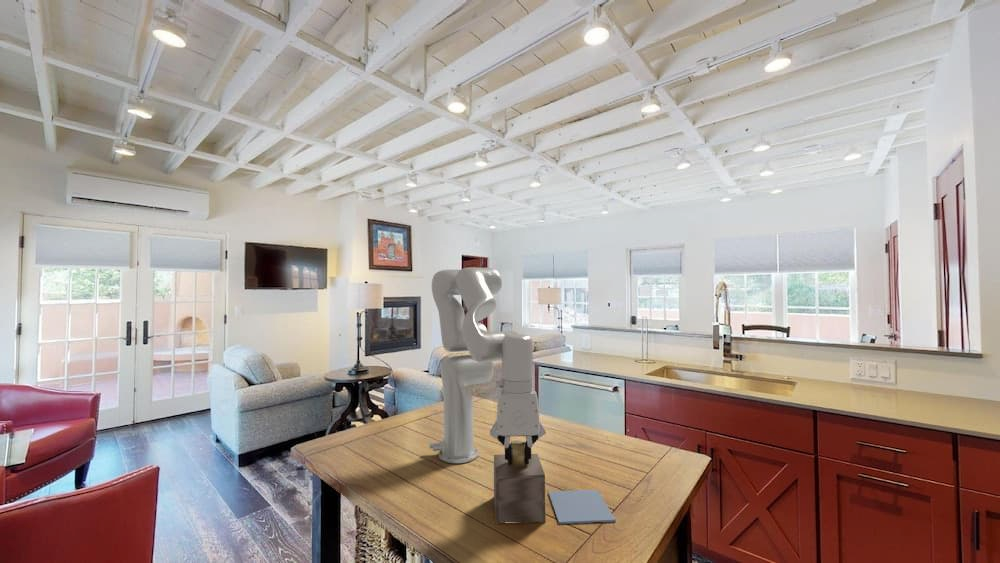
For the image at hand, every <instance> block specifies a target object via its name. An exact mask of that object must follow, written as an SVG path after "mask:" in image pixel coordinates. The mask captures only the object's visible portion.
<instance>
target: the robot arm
mask: <svg viewBox="0 0 1000 563" xmlns="http://www.w3.org/2000/svg"><path fill="white" fill-rule="evenodd" d="M502 284H503V281H502V277H501V274H500V272H498V270H496V269H495V268H493V267H472V266H471V267H469V266H468V267H463V268H462V269H442V270H438V271H437V272H436V273H434V275H433V277H432V280H431V292H432V293H431V294H432V297H433V301H434V303H435V306H436V308H437V312H438V318H439V326H440V336H441V342H442V343H441V344H442V347H443V349H444V350H445V352H448V353H460V352H461V353H462V352H469V353H468V354H465V355H454V356H450V357H447V358H446V359H444V360H443V361H442V363H441V365H440V375H441V376H440V377H441V383H442V392H443V439H442V440H440V441H439V442H437V441H430V442H429V449H432V451H433V452H438V451H439V452H438V458H439V459H440V460H441V462H442V461H443V462H444V463H449V464H464V463H465V464H466V463H468V462H471V461H473V460H475V459H476V458H478V456H479V449H478V448H477V447H476V446H475V445H474V398H473V396H472V394H471V393H470V391H469V390H468V388H467V386H470V385H471V386H472V385H478V384H484V383H488V382H490V381H491V380H492V378H493V376H494V372H495V370H494V362H498V361H501V379H500V380H498V381H497V380H496V381H495V383H496V384H495V386H496V388H500V389H501V390H500V389H499V390H500V391H499V393H498V398H497V406H496V407H497V409H496V420H495V421H494V424H493V425H492V426H491V429H490V430H489V436H491V437H492V438H494V439H496V440H497V441H498V442H500V443H501V444H502V446H504V455H505V460H508V465H510V464H511V446H510V443H511V437H525V441H524V442H525V463H526V464H529V459H531V454H532V448H533V446H534V444H535V443H536V442H537V441H538V440H539V439H540V438H542V437H543V436H544V435H546V432H547V431H546V429H545V428H544V426H543V424H542V422H541V421H540V408H539V407H540V406H539V399H538V394H537V391H536V390H534V370H533V369H534V360H533V359H534V355H533V354H534V350H533V349H534V348H533V346H534V345H533V338H532V337H531V336H530V335H528V334H523V333H522V334H521V333H518V332H517V331H513V330H502V331H499V330H498V331H497V330H496V331H488V329H487V327H486V325H485V324H483V323H481V322H480V321H482V320H484V319H486V318H488V317H489V316H490V315H491V314H492V313H493V312H494V311H495V310H496V307H497V301H496V298H495V297H494V295H496V294H498V293H499V292H500V290H501V288H502V286H503V285H502ZM455 296H460V297H461V299H462V301H463V304H464V306H465V308H466V310H467V312H466V313H465V310H464V307H463V305H462V304H461V302H460V301H458V299H457V298H456V297H455Z"/></svg>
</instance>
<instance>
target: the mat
mask: <svg viewBox="0 0 1000 563" xmlns="http://www.w3.org/2000/svg"><path fill="white" fill-rule="evenodd" d="M547 494H548V496H549V499H550V500H549V501H550V503H551V505H552V509H553V511H554V514H555V516H556V520H557V522H558V525H569V524H572V525H573V524H574V523H575V524H576V523H577V524H594V523H593V522H602V523H616V517H615V516H614V514H613V513H612V512H611V510H610V508H609V506H608V504H607V503H606V501H605V500H604V497H603V496H602V495H601V492H600V491H599V490H598V489H577V490H555V491H553V490H552V491H551V490H549V491H548V493H547ZM575 524H574V525H575Z"/></svg>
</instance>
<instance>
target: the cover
mask: <svg viewBox="0 0 1000 563" xmlns="http://www.w3.org/2000/svg"><path fill="white" fill-rule="evenodd" d="M525 442H526V441H523V440H513V441H510V446H511V464H510V465H508V460H505V454H494V455H493V500H494V501H493V503H494V514H495V516H496V517H495V524H496V523H505V522H539V523H546V474H545V471H544V468H543V464H542V462H541V460H540V457H539V455H538V453H531V459H529V464H526V463H525Z"/></svg>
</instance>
